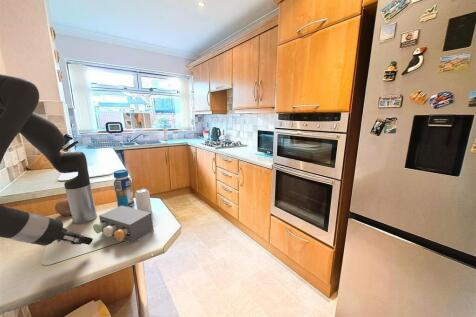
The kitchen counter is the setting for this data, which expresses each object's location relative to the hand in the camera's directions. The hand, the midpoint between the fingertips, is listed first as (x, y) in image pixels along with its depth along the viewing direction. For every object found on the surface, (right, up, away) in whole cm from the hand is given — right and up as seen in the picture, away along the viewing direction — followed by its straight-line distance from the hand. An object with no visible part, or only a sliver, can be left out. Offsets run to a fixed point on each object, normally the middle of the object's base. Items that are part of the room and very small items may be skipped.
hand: (90, 241), depth 70 cm
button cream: (+4, 0, +8) cm, 8 cm away
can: (+5, +2, +30) cm, 30 cm away
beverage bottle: (-9, +4, +39) cm, 40 cm away
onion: (-34, +1, +30) cm, 46 cm away
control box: (+6, -1, +13) cm, 15 cm away
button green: (-2, 0, +10) cm, 11 cm away
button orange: (+9, -1, +5) cm, 11 cm away
